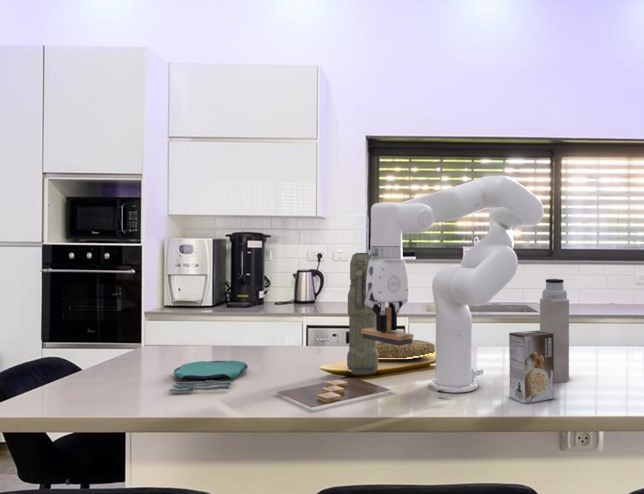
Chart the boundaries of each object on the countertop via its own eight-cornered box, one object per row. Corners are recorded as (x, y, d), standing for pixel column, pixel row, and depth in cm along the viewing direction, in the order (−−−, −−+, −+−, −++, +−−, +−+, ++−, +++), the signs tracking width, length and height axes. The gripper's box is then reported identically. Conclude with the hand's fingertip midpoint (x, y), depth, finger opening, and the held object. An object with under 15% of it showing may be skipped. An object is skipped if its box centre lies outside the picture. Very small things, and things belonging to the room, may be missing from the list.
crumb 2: (335, 389, 140) (335, 385, 140) (344, 392, 137) (344, 388, 137) (321, 392, 137) (321, 388, 137) (330, 395, 134) (330, 391, 134)
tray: (352, 380, 153) (352, 377, 153) (391, 393, 140) (391, 389, 140) (276, 395, 137) (276, 391, 137) (311, 411, 125) (311, 407, 125)
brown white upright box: (537, 392, 141) (537, 329, 141) (554, 399, 135) (555, 333, 136) (508, 397, 137) (508, 332, 137) (524, 404, 131) (525, 336, 131)
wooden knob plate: (375, 335, 140) (374, 304, 140) (413, 343, 130) (413, 309, 130) (361, 338, 137) (361, 305, 137) (399, 346, 127) (399, 311, 127)
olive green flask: (344, 379, 154) (345, 253, 154) (349, 369, 166) (350, 252, 166) (376, 379, 154) (377, 253, 155) (379, 369, 166) (379, 252, 166)
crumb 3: (331, 395, 134) (331, 391, 134) (340, 399, 131) (341, 395, 131) (317, 398, 131) (317, 394, 131) (326, 402, 128) (326, 398, 128)
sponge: (371, 367, 175) (433, 355, 172) (367, 342, 176) (428, 330, 174) (380, 365, 187) (437, 355, 185) (376, 342, 189) (433, 331, 187)
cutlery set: (252, 366, 170) (252, 358, 170) (236, 392, 140) (236, 383, 140) (183, 368, 167) (183, 360, 167) (152, 395, 137) (152, 386, 137)
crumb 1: (339, 383, 146) (339, 379, 146) (347, 386, 143) (347, 382, 143) (325, 385, 143) (326, 381, 143) (334, 388, 140) (334, 384, 140)
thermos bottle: (545, 373, 162) (545, 277, 162) (572, 377, 157) (572, 278, 157) (535, 379, 155) (535, 279, 155) (563, 383, 151) (564, 280, 151)
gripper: (369, 255, 125) (369, 336, 125) (421, 253, 136) (421, 328, 136) (350, 254, 131) (350, 332, 131) (401, 253, 142) (401, 325, 142)
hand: (386, 329), depth 134 cm, fingers closed on wooden knob plate, 2 cm apart
